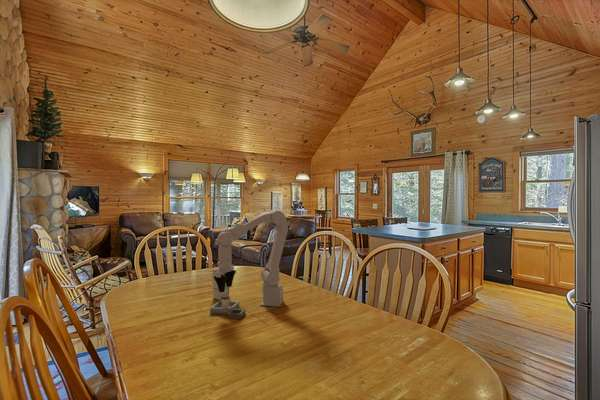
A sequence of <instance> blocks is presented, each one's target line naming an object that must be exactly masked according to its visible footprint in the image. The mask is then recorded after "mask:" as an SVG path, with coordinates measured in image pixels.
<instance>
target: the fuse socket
mask: <svg viewBox="0 0 600 400" xmlns="http://www.w3.org/2000/svg"><path fill="white" fill-rule="evenodd" d="M245 315H246V309H245V308H244V309H243V308H238V309H232V310H231V311H230V312H229V313H228V315H227V319H233V320H242V318H243V317H244V316H245Z"/></svg>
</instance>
